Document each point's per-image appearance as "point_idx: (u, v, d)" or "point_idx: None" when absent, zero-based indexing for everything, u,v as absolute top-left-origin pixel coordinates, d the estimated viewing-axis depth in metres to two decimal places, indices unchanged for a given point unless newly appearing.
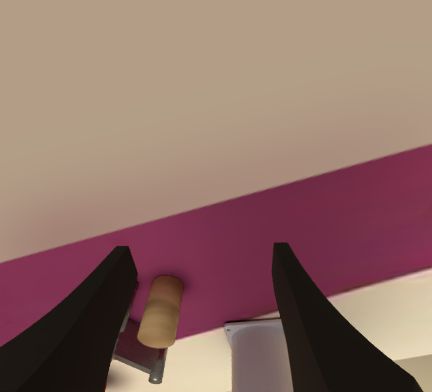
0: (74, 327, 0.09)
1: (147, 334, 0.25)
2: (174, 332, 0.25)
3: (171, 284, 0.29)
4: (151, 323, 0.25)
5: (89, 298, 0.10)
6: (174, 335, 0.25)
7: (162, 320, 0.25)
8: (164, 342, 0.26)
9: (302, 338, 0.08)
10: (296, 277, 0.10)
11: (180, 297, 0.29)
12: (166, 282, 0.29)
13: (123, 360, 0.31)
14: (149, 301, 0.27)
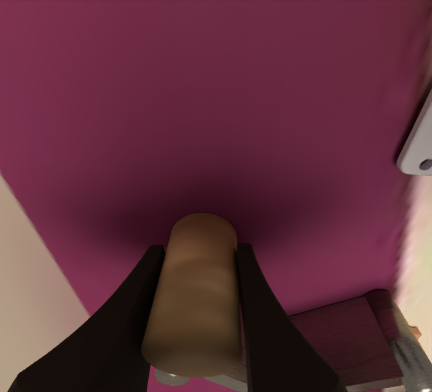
0: (125, 327, 0.09)
1: (169, 361, 0.10)
2: (189, 315, 0.09)
3: (173, 235, 0.13)
4: None
5: (134, 298, 0.10)
6: (193, 322, 0.09)
7: (152, 314, 0.10)
8: (214, 348, 0.09)
9: (247, 338, 0.09)
10: (251, 278, 0.10)
11: (201, 236, 0.12)
12: (169, 240, 0.13)
13: None
14: None
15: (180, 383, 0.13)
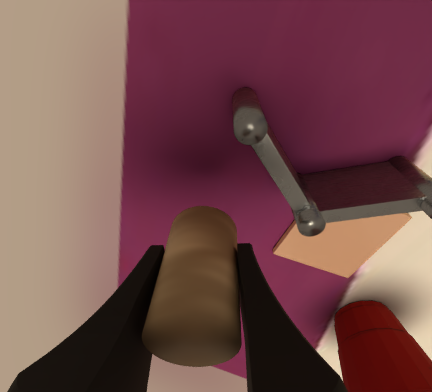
0: (125, 327, 0.09)
1: (168, 348, 0.10)
2: (193, 301, 0.09)
3: (176, 226, 0.13)
4: None
5: (134, 298, 0.10)
6: (197, 308, 0.09)
7: (155, 300, 0.10)
8: (214, 336, 0.09)
9: (247, 338, 0.09)
10: (250, 278, 0.10)
11: (204, 228, 0.12)
12: (171, 232, 0.14)
13: (347, 212, 0.16)
14: None
15: (253, 141, 0.13)
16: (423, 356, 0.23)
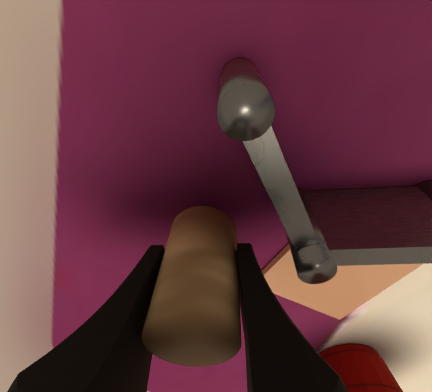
0: (125, 327, 0.09)
1: (168, 347, 0.10)
2: (193, 301, 0.09)
3: (175, 226, 0.13)
4: None
5: (134, 298, 0.10)
6: (197, 307, 0.09)
7: (155, 300, 0.10)
8: (214, 335, 0.09)
9: (247, 338, 0.09)
10: (251, 278, 0.10)
11: (204, 228, 0.12)
12: (170, 231, 0.14)
13: (367, 255, 0.11)
14: None
15: (247, 135, 0.08)
16: None
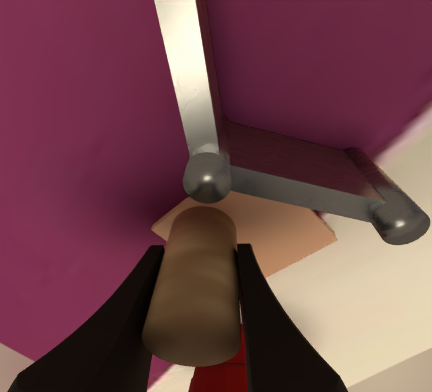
0: (125, 327, 0.09)
1: (167, 348, 0.10)
2: (193, 301, 0.09)
3: (175, 226, 0.13)
4: None
5: (134, 298, 0.10)
6: (196, 308, 0.09)
7: (155, 300, 0.10)
8: (214, 336, 0.09)
9: (247, 338, 0.09)
10: (251, 278, 0.10)
11: (204, 228, 0.12)
12: (170, 232, 0.14)
13: (271, 185, 0.09)
14: None
15: None
16: None
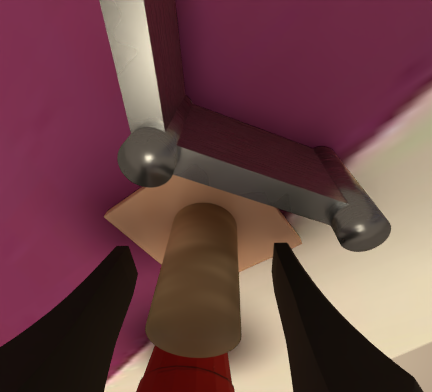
0: (74, 327, 0.09)
1: (170, 340, 0.10)
2: (195, 296, 0.09)
3: (177, 222, 0.13)
4: (148, 316, 0.10)
5: (89, 298, 0.10)
6: (198, 302, 0.09)
7: (158, 294, 0.10)
8: (215, 328, 0.10)
9: (302, 338, 0.08)
10: (296, 277, 0.10)
11: (205, 224, 0.13)
12: (172, 228, 0.14)
13: (223, 173, 0.08)
14: None
15: None
16: None
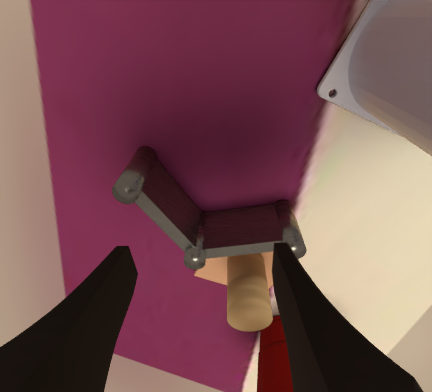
0: (74, 327, 0.09)
1: (242, 324, 0.22)
2: (240, 302, 0.21)
3: (227, 266, 0.25)
4: None
5: (89, 298, 0.10)
6: (242, 304, 0.20)
7: (227, 306, 0.22)
8: (256, 313, 0.21)
9: (302, 338, 0.08)
10: (296, 277, 0.10)
11: (239, 263, 0.24)
12: None
13: (224, 251, 0.20)
14: None
15: (129, 201, 0.17)
16: None
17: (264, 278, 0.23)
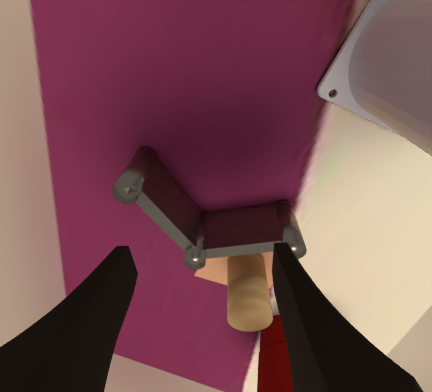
0: (74, 327, 0.09)
1: (242, 325, 0.22)
2: (240, 302, 0.21)
3: (228, 266, 0.25)
4: None
5: (89, 298, 0.10)
6: (242, 304, 0.20)
7: (227, 306, 0.22)
8: (257, 313, 0.21)
9: (302, 338, 0.08)
10: (296, 277, 0.10)
11: (239, 263, 0.24)
12: (227, 269, 0.26)
13: (224, 251, 0.20)
14: None
15: (130, 201, 0.17)
16: None
17: (264, 278, 0.23)
